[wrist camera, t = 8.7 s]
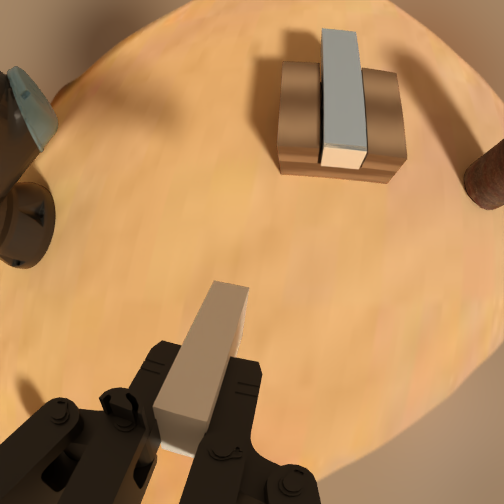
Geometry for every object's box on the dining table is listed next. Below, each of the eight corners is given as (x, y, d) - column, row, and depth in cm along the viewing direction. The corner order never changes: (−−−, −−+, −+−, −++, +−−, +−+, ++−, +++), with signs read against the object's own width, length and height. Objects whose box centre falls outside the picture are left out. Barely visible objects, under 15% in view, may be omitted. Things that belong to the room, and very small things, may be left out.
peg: (358, 169, 33) (366, 152, 29) (320, 165, 34) (323, 148, 29) (351, 54, 35) (355, 31, 31) (320, 51, 36) (321, 28, 31)
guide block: (387, 183, 37) (407, 158, 29) (280, 174, 40) (276, 146, 31) (382, 107, 39) (396, 73, 30) (286, 98, 41) (282, 61, 32)
